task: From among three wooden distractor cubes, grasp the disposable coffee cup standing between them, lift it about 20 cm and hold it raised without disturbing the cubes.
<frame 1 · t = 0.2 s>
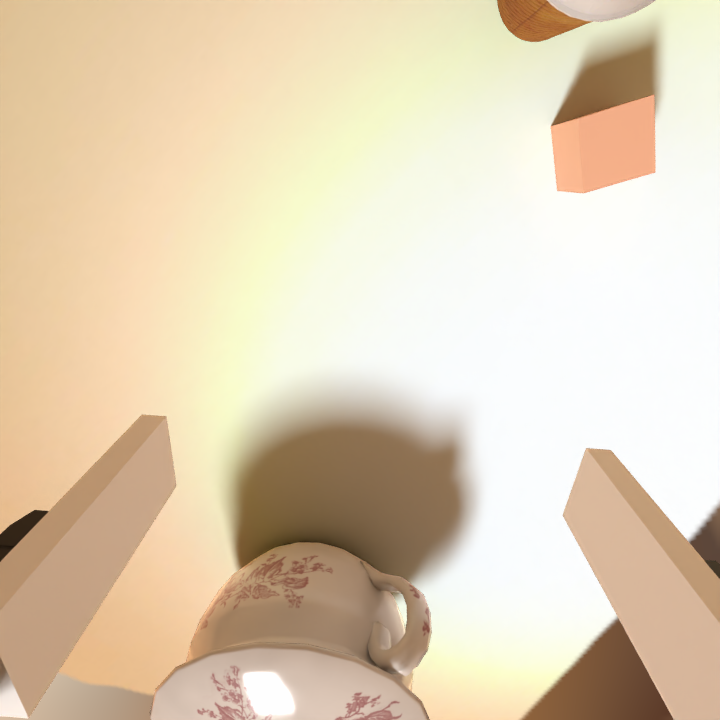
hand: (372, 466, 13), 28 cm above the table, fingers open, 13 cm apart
terracotta cube: (585, 149, 34), on the table
chamber pot: (316, 581, 56), on the table
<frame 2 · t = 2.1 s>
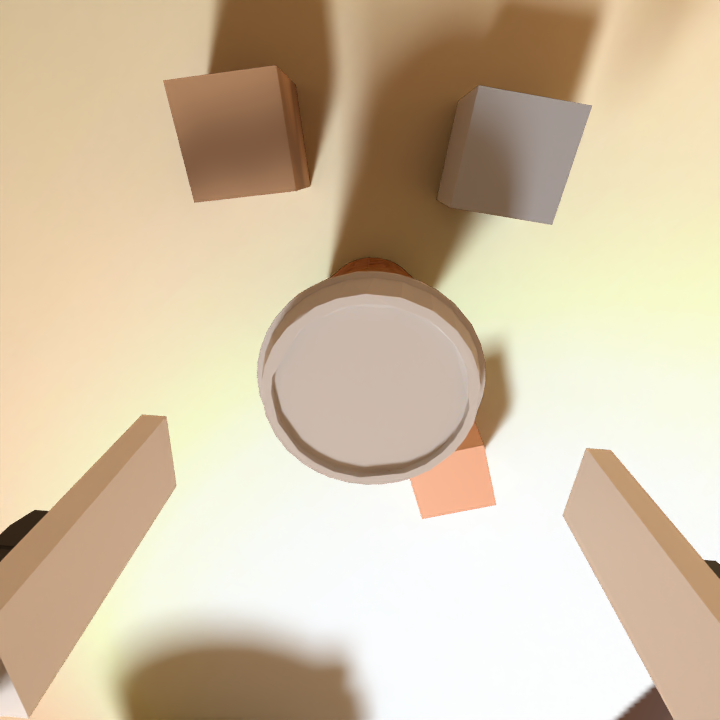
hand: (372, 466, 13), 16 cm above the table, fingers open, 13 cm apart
terracotta cube: (440, 438, 32), on the table
walnut cube: (259, 143, 24), on the table
slate grey cube: (490, 160, 24), on the table
disposable coffee cup: (371, 305, 27), on the table
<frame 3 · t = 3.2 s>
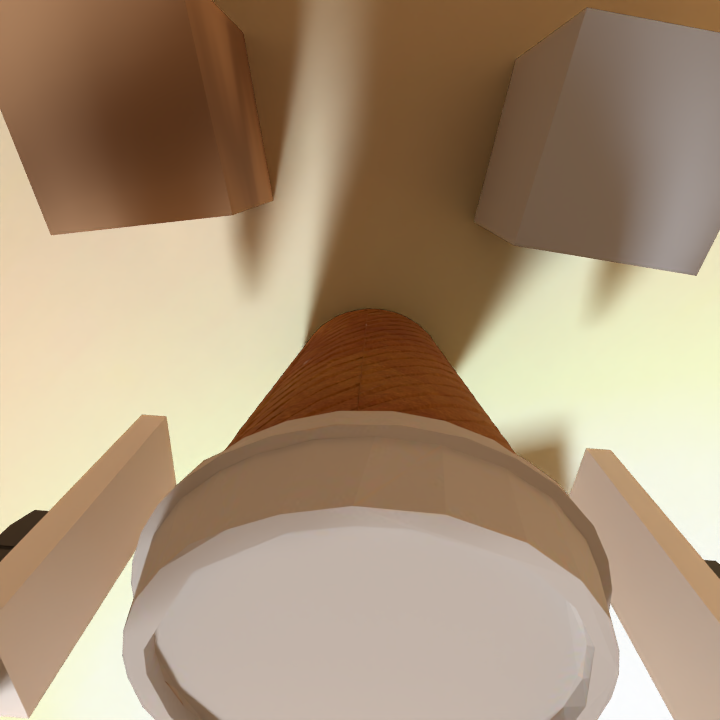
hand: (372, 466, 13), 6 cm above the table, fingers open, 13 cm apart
walnut cube: (189, 131, 15), on the table
slate grey cube: (562, 159, 15), on the table
disposable coffee cup: (370, 375, 18), on the table
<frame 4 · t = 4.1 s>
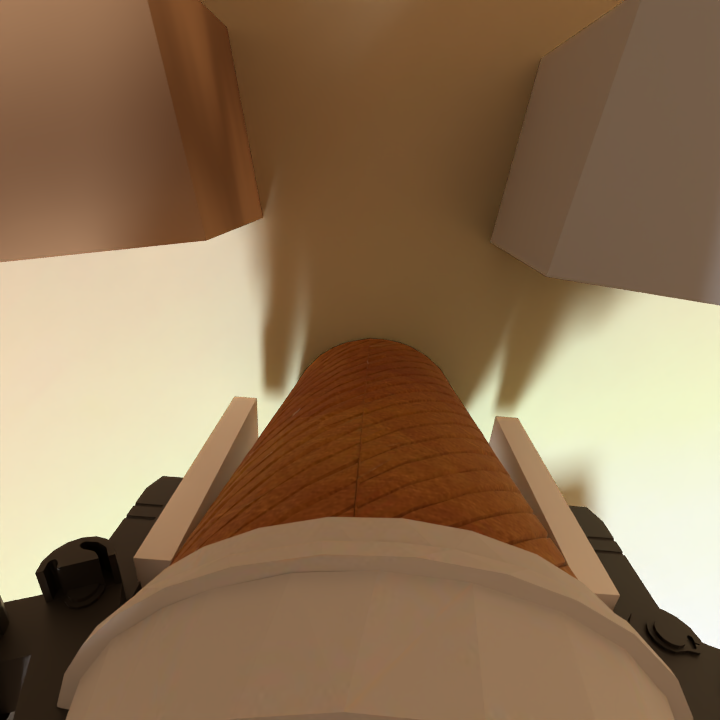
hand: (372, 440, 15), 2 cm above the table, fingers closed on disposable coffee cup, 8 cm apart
walnut cube: (167, 140, 13), on the table
slate grey cube: (592, 171, 13), on the table
disposable coffee cup: (372, 410, 17), on the table, touching gripper
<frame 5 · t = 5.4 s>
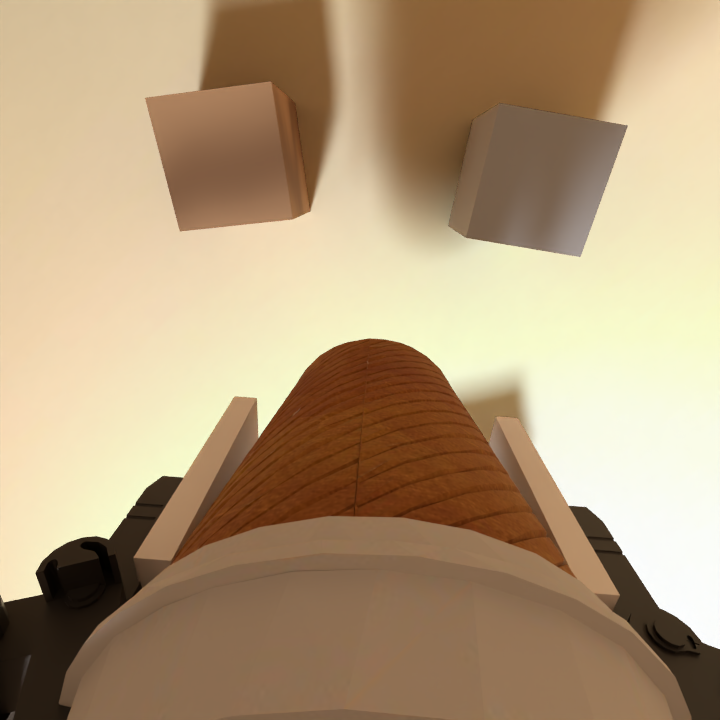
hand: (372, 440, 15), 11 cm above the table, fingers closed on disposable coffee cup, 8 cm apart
walnut cube: (255, 165, 22), on the table
slate grey cube: (507, 183, 22), on the table
disposable coffee cup: (372, 410, 17), point 9 cm above the table, touching gripper
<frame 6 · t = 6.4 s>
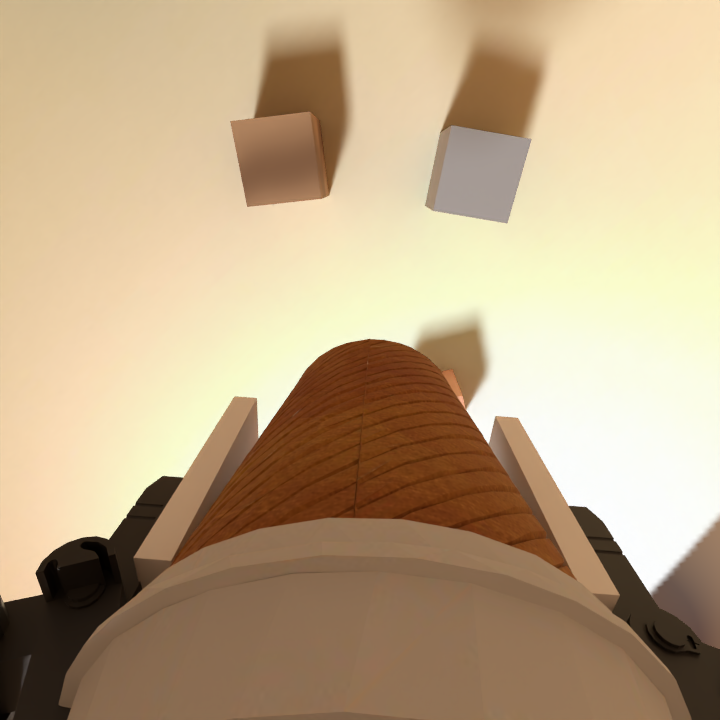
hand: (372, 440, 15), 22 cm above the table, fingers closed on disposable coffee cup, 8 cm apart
walnut cube: (291, 163, 31), on the table
slate grey cube: (465, 175, 31), on the table
disposable coffee cup: (372, 410, 17), point 20 cm above the table, touching gripper
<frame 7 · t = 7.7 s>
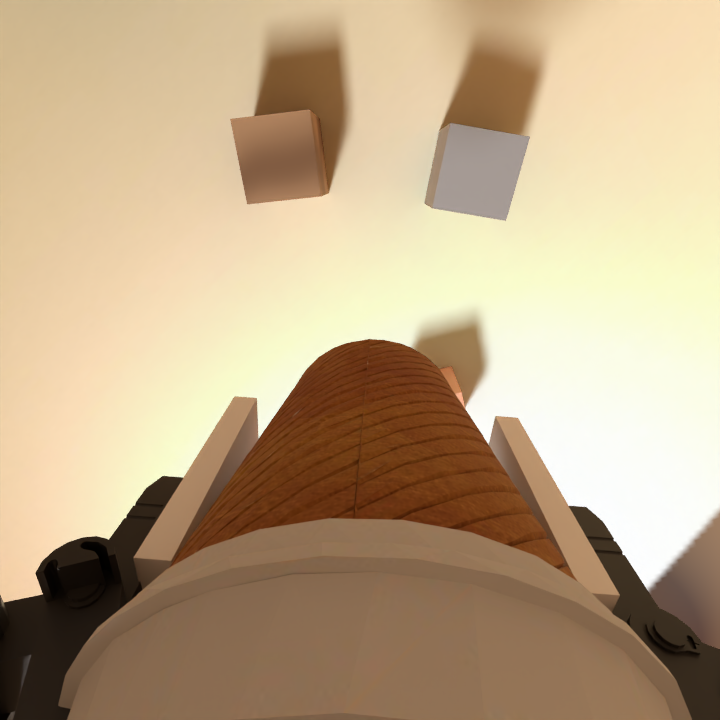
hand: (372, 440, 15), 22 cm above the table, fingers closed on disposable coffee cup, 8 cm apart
terracotta cube: (430, 395, 39), on the table
walnut cube: (291, 161, 31), on the table
slate grey cube: (464, 173, 31), on the table
disposable coffee cup: (372, 411, 17), point 20 cm above the table, touching gripper
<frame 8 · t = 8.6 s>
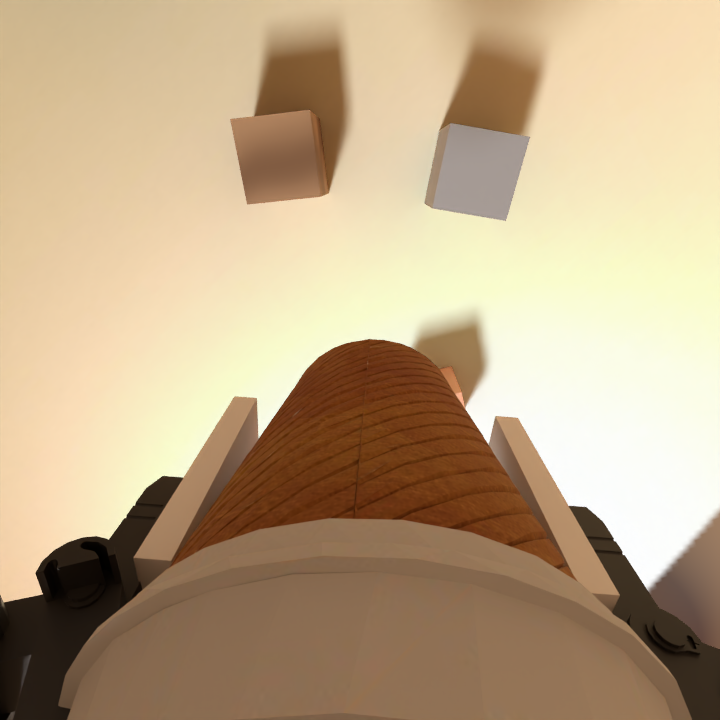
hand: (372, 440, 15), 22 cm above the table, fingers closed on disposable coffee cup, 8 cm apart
terracotta cube: (430, 395, 39), on the table
walnut cube: (291, 161, 31), on the table
slate grey cube: (464, 173, 31), on the table
disposable coffee cup: (372, 411, 17), point 20 cm above the table, touching gripper
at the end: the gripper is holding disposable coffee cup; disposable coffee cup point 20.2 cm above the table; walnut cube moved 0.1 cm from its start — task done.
